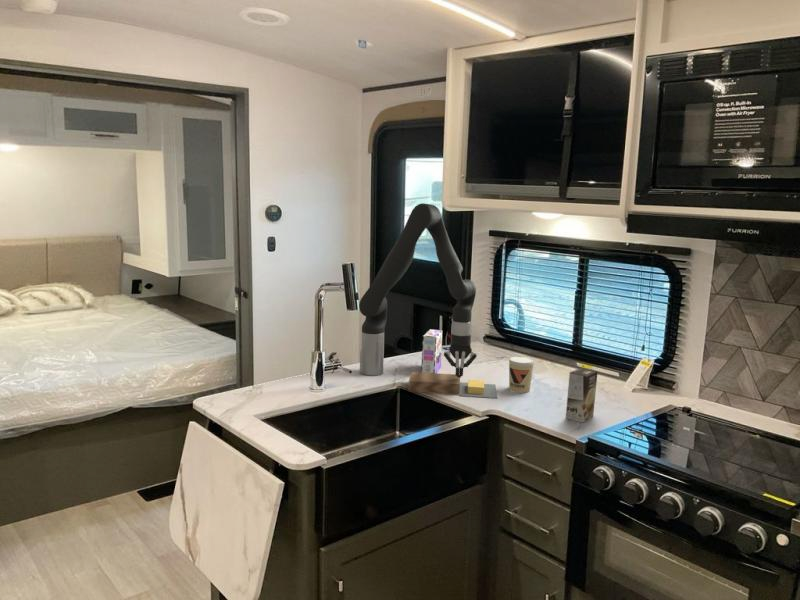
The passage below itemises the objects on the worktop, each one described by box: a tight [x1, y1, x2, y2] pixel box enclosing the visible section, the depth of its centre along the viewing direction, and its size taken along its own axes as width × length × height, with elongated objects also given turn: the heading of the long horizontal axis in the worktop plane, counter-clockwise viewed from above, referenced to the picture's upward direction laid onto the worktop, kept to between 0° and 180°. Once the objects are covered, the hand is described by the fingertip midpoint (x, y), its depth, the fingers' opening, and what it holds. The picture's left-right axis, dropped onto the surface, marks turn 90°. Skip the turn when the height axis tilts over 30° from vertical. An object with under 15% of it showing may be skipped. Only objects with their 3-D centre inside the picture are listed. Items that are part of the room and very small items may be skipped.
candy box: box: [420, 328, 443, 373], centre depth 258 cm, size 14×6×16 cm, turn 165°
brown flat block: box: [408, 371, 461, 395], centre depth 236 cm, size 19×12×4 cm, turn 84°
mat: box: [458, 381, 499, 400], centre depth 235 cm, size 14×16×1 cm
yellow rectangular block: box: [467, 379, 485, 394], centre depth 234 cm, size 6×9×2 cm, turn 174°
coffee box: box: [565, 367, 598, 423], centre depth 208 cm, size 9×6×16 cm
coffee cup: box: [508, 356, 535, 394], centre depth 236 cm, size 9×9×12 cm
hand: (459, 377), depth 234 cm, fingers closed
